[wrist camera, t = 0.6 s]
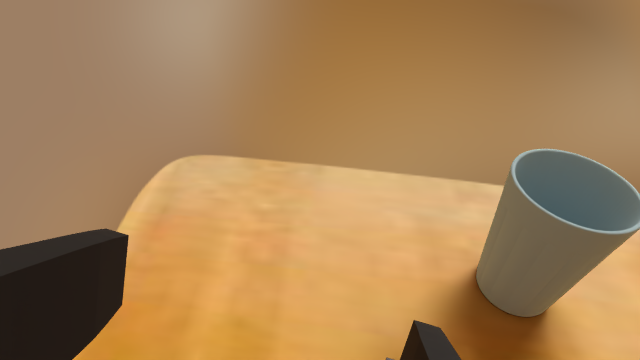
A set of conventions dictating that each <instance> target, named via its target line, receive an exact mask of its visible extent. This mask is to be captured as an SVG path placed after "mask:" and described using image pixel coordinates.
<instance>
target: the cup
mask: <svg viewBox="0 0 640 360" xmlns="http://www.w3.org/2000/svg"><path fill="white" fill-rule="evenodd" d="M639 229H640V194H639V193H638V191H637V190H636V189H635V188H634V187H633V186H632V185H631V184H630V183H629V182H628V181H626V180H625V179H624V178H623V177H621V176H620V175H619V174H617V173H616V172H614V171H613V170H611V169H610V168H608V167H606V166H604V165H602V164H600V163H598V162H596V161H594V160H592V159H589V158H586V157H584V156H581V155H578V154H575V153H571V152H567V151H561V150H554V149H536V150H531V151H527V152H524V153H522V154H520V155H519V156H518V157H516V158H515V160H514V161H513V163H512V165H511V168H510V171H509V174H508V177H507V180H506V183H505V186H504V189H503V192H502V195H501V198H500V201H499V204H498V207H497V210H496V213H495V216H494V219H493V222H492V225H491V228H490V231H489V234H488V237H487V240H486V243H485V246H484V249H483V252H482V255H481V258H480V261H479V264H478V267H477V274H476V279H477V283H478V285H479V288H480V290H481V291H482V293H483V294H484V295H485V297H486V298H487V299H488V300H489V301H490V302H491V303H492V304H494V305H495V306H496V307H498V308H499V309H501V310H503V311H505V312H507V313H509V314H512V315H516V316H521V317H532V316H536V315H539V314H541V313H543V312H544V311H545V310H547V309H548V308H549V307H550V306H551V305H552V304H553V303H555V302H556V301H557V300H558V299H559V298H560V297H562V296H563V295H564V294H565V293H566V292H567V291H568V290H570V289H571V288H572V287H573V286H574V285H575V284H576V283H578V282H579V281H580V280H581V279H582V278H583V277H584V276H586V275H587V274H588V273H589V272H590V271H591V270H592V269H594V268H595V267H596V266H597V265H598V264H599V263H600V262H602V261H603V260H604V259H605V258H606V257H607V256H608V255H610V254H611V253H612V252H613V251H614V250H615V249H617V248H618V247H619V246H620V245H622V244H623V243H624V242H625V241H626V240H627V239H628V238H630V237H631V236H632V235H633V234H634V233H635V232H637V231H638V230H639Z"/></svg>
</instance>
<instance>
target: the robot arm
mask: <svg viewBox="0 0 640 360" xmlns="http://www.w3.org/2000/svg"><path fill="white" fill-rule="evenodd" d="M128 236H129V235H126V234H122V233H119V232H116V231H112V230H109V229H100V230H93V231H87V232H82V233H77V234H71V235H67V236H62V237H57V238H53V239H48V240H43V241H39V242H35V243H30V244H25V245H20V246H16V247H11V248H6V249H1V250H0V360H72V359H73V358H74V357H76V356H77V355H78V354H79V353H80V352H81V351H82V350H83V349H84V348H85V347H86V346H87V345H88V344H89V343H90V342H91V341H92V340H93V339H94V338H95V337H96V336H97V335H98V334H99V332H100V331H101V330H102V329H103V328H104V327H105V325H106V324H107V323H108V322H109V321H110V319H111V318H112V317H113V316H114V314H115V313H116V312H117V311H118V309H119V308H120V307H121V306H122V299H123V289H124V278H125V268H126V257H127V247H128ZM400 360H461V359H460V357H459V356H458V354H457V352H456V351H455V349H454V348H453V346H452V345H451V343H450V342H449V340H448V339H447V337H446V336H445V334H444V333H443V331H442V330H441V328H439V327H436V326H432V325H429V324H426V323H422V322H419V321H415V320H414V321H413V324H412V327H411V330H410V333H409V335H408V338H407V341H406V344H405V347H404V350H403V353H402V355H401V358H400Z"/></svg>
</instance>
